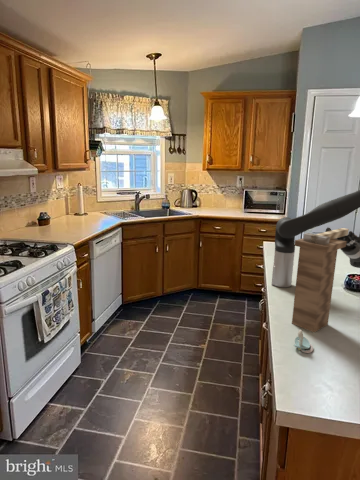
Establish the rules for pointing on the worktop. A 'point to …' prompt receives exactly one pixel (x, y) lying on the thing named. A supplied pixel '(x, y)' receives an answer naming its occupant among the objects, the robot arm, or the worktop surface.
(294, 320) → the stand
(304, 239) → the beige block
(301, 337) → the pacifier
